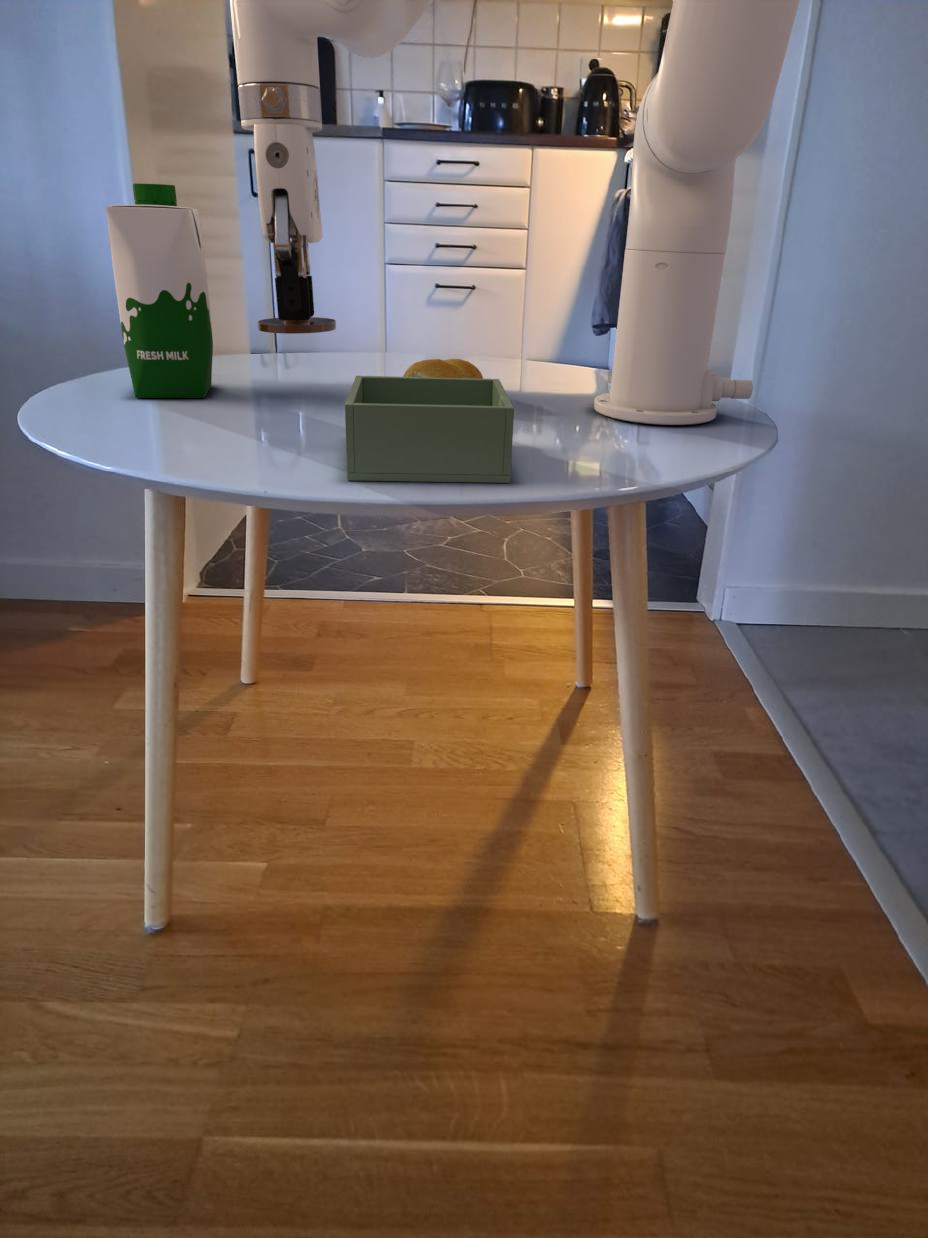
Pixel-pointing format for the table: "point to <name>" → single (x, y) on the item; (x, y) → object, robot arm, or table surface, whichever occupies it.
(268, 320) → the wooden peg stand
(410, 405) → the tub
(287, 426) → the table surface
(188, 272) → the milk carton
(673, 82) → the robot arm
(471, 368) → the bread roll
